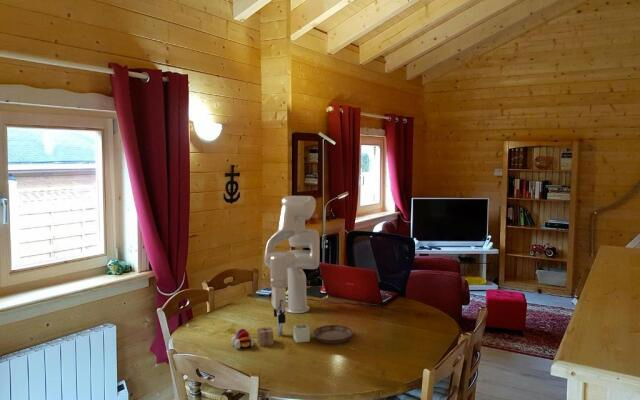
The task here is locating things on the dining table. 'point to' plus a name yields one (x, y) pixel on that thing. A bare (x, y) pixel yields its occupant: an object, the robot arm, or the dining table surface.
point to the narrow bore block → (265, 336)
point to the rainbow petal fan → (242, 339)
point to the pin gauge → (279, 326)
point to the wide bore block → (301, 333)
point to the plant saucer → (333, 334)
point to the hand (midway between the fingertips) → (279, 319)
